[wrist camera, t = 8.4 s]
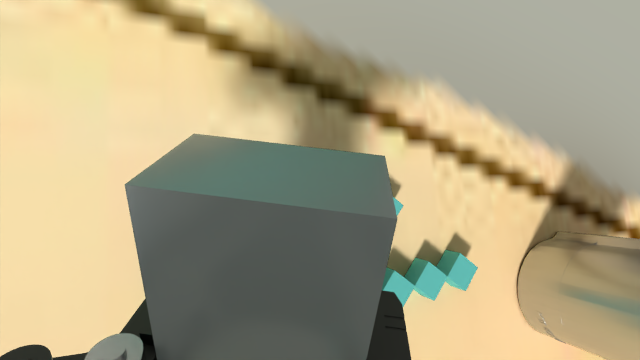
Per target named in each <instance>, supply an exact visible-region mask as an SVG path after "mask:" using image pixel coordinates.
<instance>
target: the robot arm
mask: <svg viewBox="0 0 640 360" xmlns="http://www.w3.org/2000/svg"><path fill="white" fill-rule="evenodd" d="M518 299H519V304H520V308H521V311H522V313H523V315H524V317H525V319H526V320H527V322H528V323H529V325H530V326H531V327H533V328H534V329H535V330H536V331H538V332H540V333H542V334H545V335H547V336H550V337H552V338H555V339H556V340H558V341H561V342H563V343H567V344H570V345H572V346H575V347H577V348H580V349H582V350H584V351H587V352H589V353H592V354H594V355H597V356H599V357H602V358H604V359H607V360H640V239H633V238H623V237H613V236H602V235H592V234H582V233H571V232H561V231H558V232H557V233H556V235H555V236H554V237H553V238H552V239H548V240H545V241H542V242H540V243H539V244H537V245H536V246H535V247H534V248H533V249H531V250H530V252H529V253H528V255H527V256H526V258H525V260H524V262H523V264H522V266H521V270H520V274H519V278H518ZM0 360H157V357H156V351H155V346H154V340H153V335H152V330H151V324H150V319H149V313H148V308H147V302H146V299H145V300H144V301H143V303H142V304H141V305H140V307H139V308H138V309H137V311H136V312H135V313H134V315H133V316H132V318H131V319H130V320H129V322H128V323H127V324H126V326H125V327H124V328H123V330H122V331H121V332H120V333H119V334H116V335H112V336H110V337H107V338H105V339H103V340H102V341H100V342H99V343H97V344H96V345H95V346H94V347H93V348H92V349H91V350H90V351H89V352H87V353H82V354H76V355H69V356H62V357H56V358H52V355H51V353H50V350H49V349H48V348H46V347H45V346H42V345H27V346H23V347H19V348H17V349H14V350H12V351H10V352H8V353H6V354H4V355H2V356H1V357H0ZM366 360H411V356H410V350H409V343H408V337H407V332H406V325H405V321H404V313H403V306H402V303H401V302H400V300H399V299H398V297H397V296H396V294H395V293H394V292H390V291H383V290H382V291H381V295H380V300H379V304H378V309H377V313H376V318H375V322H374V327H373V331H372V336H371V341H370V345H369V350H368V354H367V359H366Z"/></svg>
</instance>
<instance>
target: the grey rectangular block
mask: <svg viewBox="0 0 640 360" xmlns="http://www.w3.org/2000/svg"><path fill="white" fill-rule="evenodd" d="M125 189H126V194H127V200H128V205H129V210H130V216H131V221H132V227H133V232H134V238H135V243H136V248H137V254H138V259H139V265H140V270H141V275H142V281H143V286H144V292H145V297H146V302H147V308H148V313H149V319H150V324H151V330H152V335H153V340H154V346H155V351H156V357H157V360H366V359H367V354H368V350H369V345H370V341H371V336H372V331H373V327H374V322H375V318H376V313H377V309H378V304H379V300H380V295H381V291H382V286H383V281H384V277H385V272H386V268H387V263H388V259H389V254H390V250H391V245H392V241H393V236H394V231H395V227H396V222H397V215H396V210H395V205H394V199H393V194H392V189H391V184H390V179H389V174H388V169H387V164H386V159H385V156H381V155H372V154H363V153H355V152H346V151H338V150H329V149H321V148H312V147H303V146H295V145H286V144H278V143H269V142H260V141H252V140H243V139H235V138H226V137H218V136H209V135H200V134H193V135H192V136H190V137H189V138H188V139H186V140H185V141H184V142H182V143H181V144H179V145H178V146H177V147H175V148H174V149H173V150H171V151H170V152H169V153H167V154H166V155H164V156H163V157H162V158H160V159H159V160H158V161H156V162H155V163H154V164H152V165H151V166H149V167H148V168H147V169H145V170H144V171H143V172H141V173H140V174H138V175H137V176H136V177H134V178H133V179H132V180H130V181H129V182H128V183H126V184H125Z"/></svg>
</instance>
